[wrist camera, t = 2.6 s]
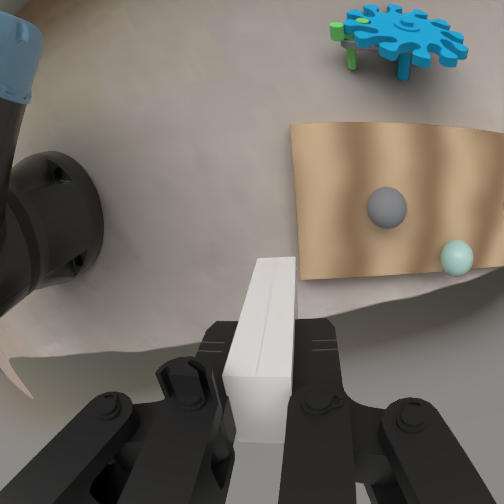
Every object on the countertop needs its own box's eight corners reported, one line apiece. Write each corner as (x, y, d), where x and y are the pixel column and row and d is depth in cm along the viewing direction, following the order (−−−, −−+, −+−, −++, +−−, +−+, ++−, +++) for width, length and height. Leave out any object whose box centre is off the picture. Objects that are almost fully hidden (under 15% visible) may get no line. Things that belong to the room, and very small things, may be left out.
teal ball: (432, 268, 25) (446, 284, 22) (436, 234, 24) (452, 248, 21) (460, 266, 24) (475, 281, 21) (465, 233, 23) (482, 246, 20)
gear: (445, 7, 16) (489, 63, 13) (439, 56, 22) (471, 122, 18) (325, -4, 19) (331, 43, 16) (331, 47, 24) (336, 110, 21)
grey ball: (362, 222, 24) (371, 235, 21) (362, 183, 23) (372, 191, 20) (398, 221, 24) (411, 234, 21) (399, 183, 23) (413, 191, 20)
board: (299, 267, 29) (300, 279, 27) (290, 125, 24) (289, 124, 22) (548, 251, 24) (559, 260, 22) (558, 145, 19) (572, 148, 17)
